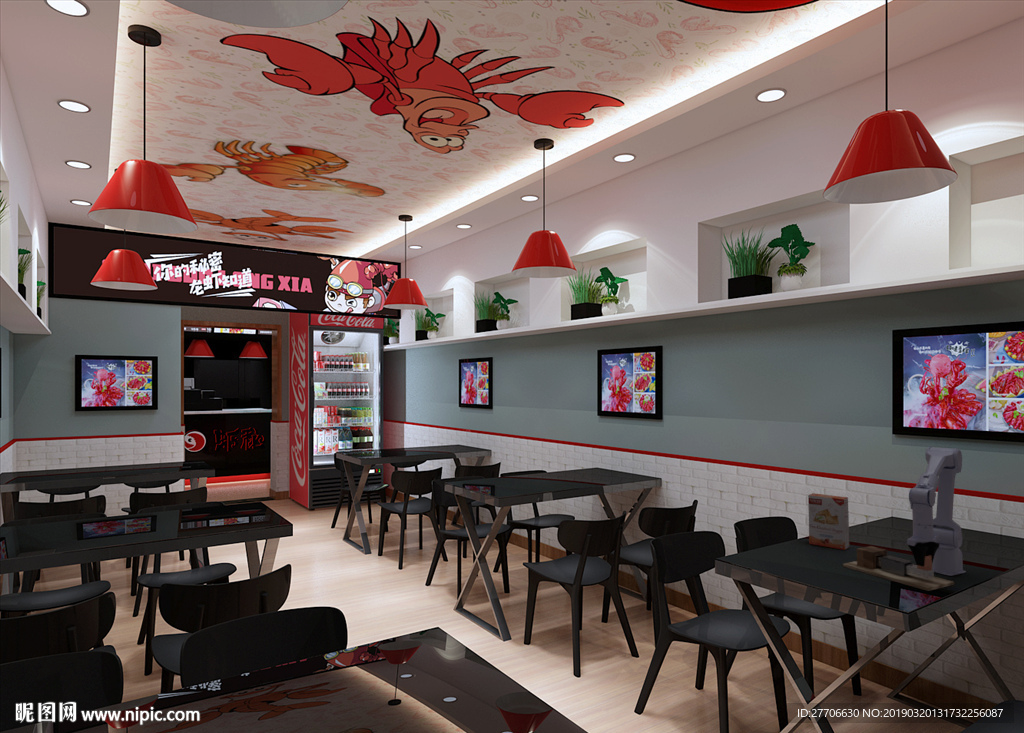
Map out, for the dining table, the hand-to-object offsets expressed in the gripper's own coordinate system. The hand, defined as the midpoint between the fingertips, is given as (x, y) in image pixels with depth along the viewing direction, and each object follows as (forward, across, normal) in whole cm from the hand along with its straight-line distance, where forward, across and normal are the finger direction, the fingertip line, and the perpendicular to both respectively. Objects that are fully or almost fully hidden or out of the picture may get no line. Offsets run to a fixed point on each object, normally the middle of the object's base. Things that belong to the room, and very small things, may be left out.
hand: (924, 564), depth 202 cm
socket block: (+6, 0, +18) cm, 19 cm away
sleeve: (+6, 0, +9) cm, 11 cm away
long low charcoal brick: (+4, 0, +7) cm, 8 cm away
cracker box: (+6, +14, +46) cm, 49 cm away
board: (+6, 0, +9) cm, 11 cm away
